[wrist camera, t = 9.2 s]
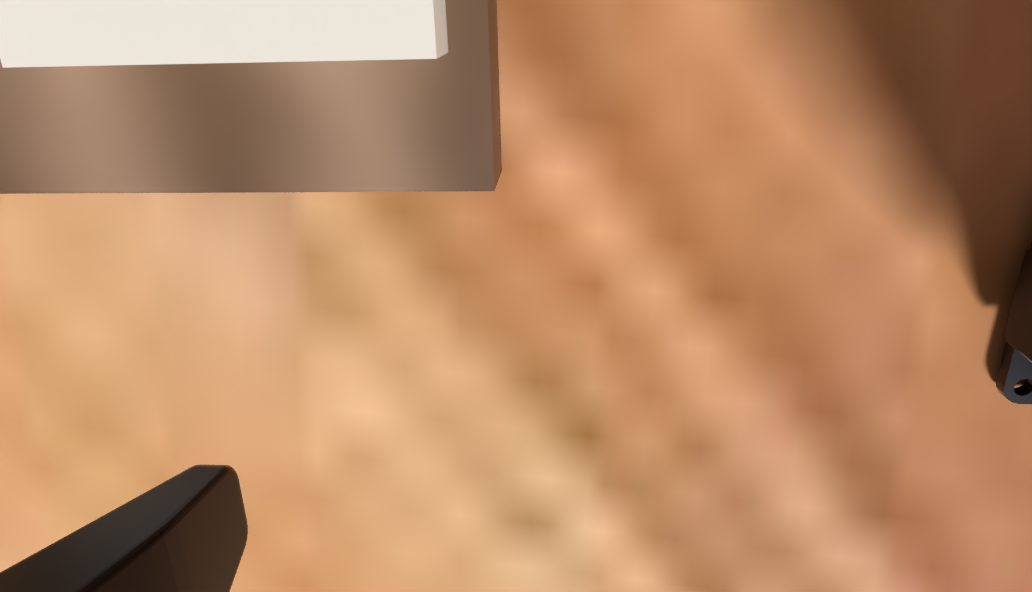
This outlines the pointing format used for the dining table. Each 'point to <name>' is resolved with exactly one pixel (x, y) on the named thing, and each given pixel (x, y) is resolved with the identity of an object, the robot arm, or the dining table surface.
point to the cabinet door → (217, 31)
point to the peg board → (261, 123)
